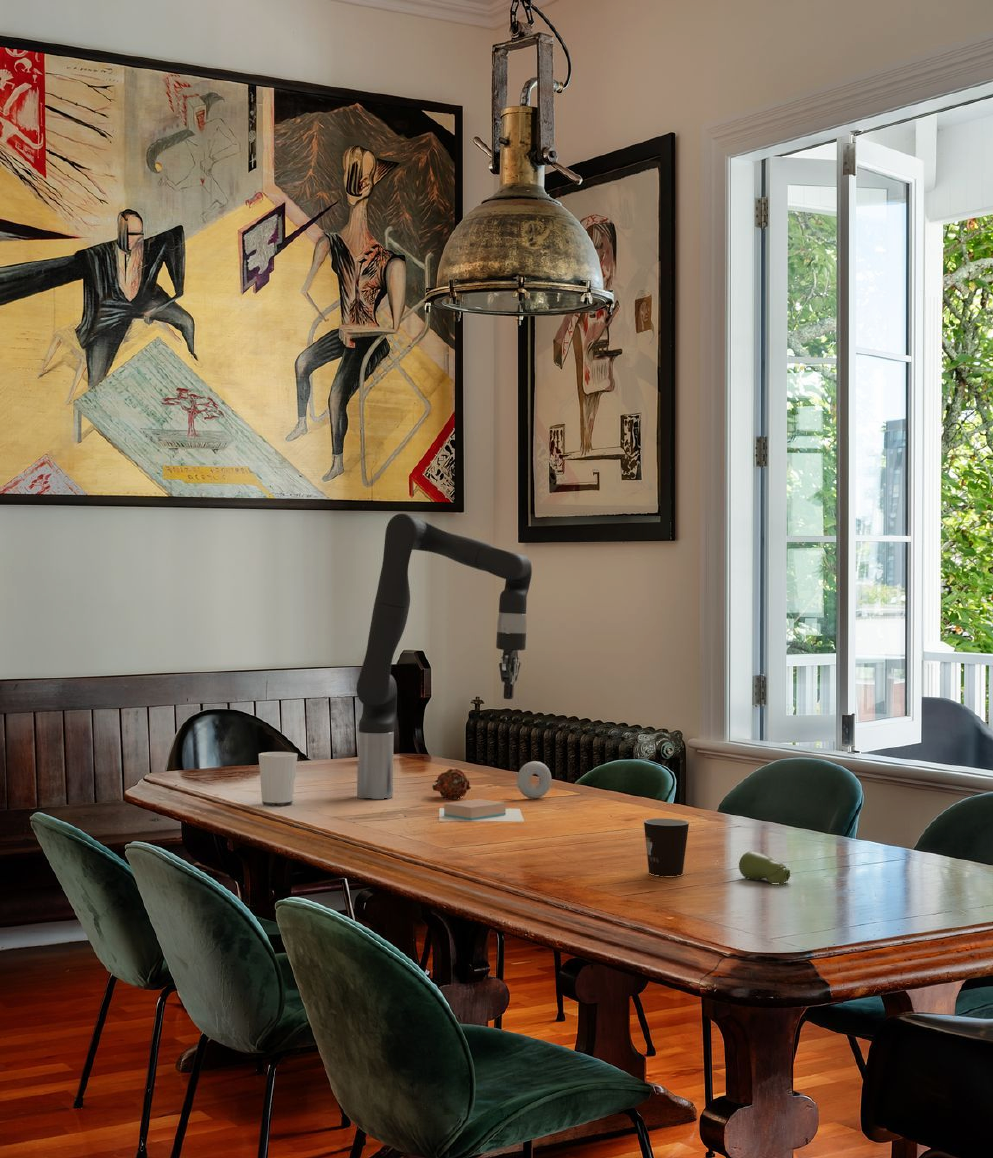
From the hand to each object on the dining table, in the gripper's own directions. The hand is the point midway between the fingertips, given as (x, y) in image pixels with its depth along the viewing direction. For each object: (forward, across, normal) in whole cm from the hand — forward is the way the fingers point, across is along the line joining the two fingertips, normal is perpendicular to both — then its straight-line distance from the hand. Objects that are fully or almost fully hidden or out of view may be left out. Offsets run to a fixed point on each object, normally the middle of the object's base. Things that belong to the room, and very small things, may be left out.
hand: (508, 698), depth 348 cm
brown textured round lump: (+28, -9, -16) cm, 34 cm away
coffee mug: (+26, +74, +52) cm, 94 cm away
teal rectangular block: (+25, +15, +1) cm, 30 cm away
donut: (+27, -15, +4) cm, 32 cm away
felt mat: (+27, +18, -1) cm, 33 cm away
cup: (+29, +18, -54) cm, 64 cm away
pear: (+25, +76, +71) cm, 107 cm away
